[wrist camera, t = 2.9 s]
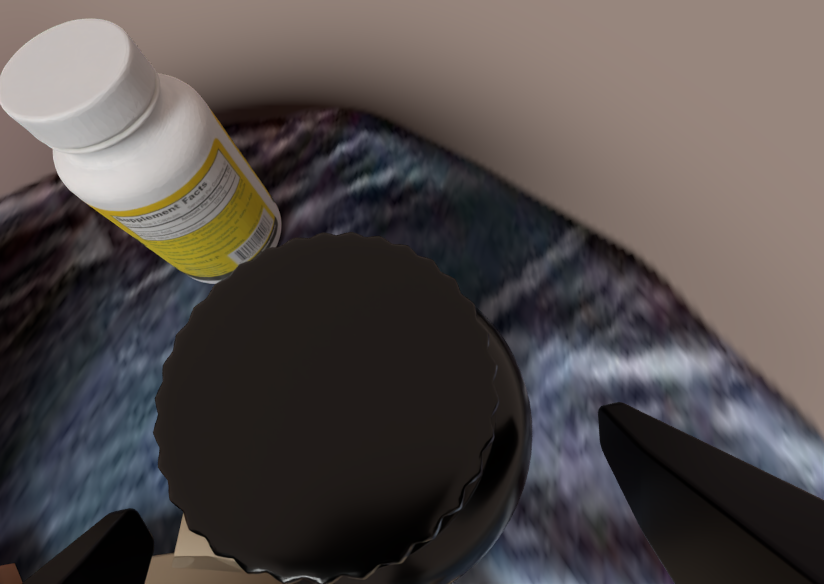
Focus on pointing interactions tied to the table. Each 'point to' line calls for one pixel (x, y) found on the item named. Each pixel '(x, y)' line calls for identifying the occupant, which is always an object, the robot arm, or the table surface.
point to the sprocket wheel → (181, 566)
